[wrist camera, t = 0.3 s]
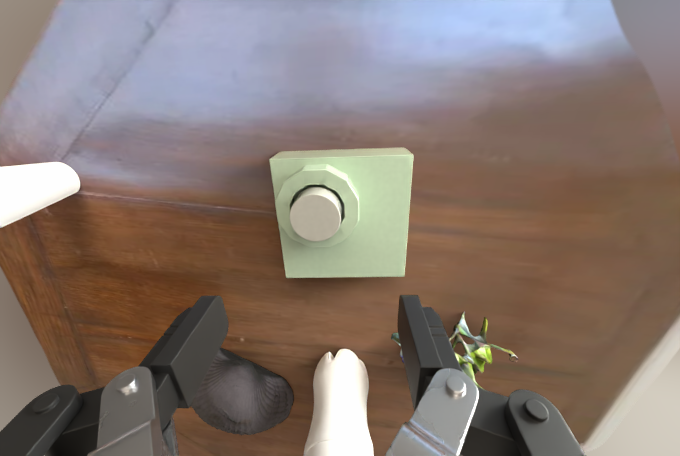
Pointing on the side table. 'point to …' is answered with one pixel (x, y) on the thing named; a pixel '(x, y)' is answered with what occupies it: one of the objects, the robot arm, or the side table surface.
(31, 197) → the cup
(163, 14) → the side table surface
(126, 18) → the side table surface
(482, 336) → the passion flower
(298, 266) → the green button box
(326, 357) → the water bottle
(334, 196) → the button
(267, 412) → the seashell
